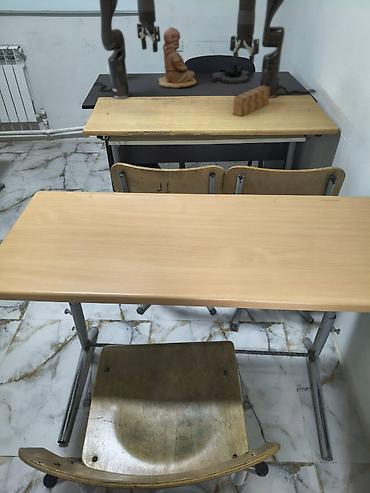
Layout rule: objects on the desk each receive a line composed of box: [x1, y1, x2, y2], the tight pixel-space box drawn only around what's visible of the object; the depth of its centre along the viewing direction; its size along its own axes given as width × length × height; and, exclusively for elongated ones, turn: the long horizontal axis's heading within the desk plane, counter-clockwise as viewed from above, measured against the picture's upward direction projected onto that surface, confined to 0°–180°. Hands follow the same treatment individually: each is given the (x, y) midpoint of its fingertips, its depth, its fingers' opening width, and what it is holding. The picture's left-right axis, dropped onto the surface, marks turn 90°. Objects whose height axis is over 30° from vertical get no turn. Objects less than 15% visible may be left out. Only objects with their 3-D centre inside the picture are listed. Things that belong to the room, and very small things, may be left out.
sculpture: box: [157, 27, 198, 89], centre depth 214 cm, size 27×24×30 cm
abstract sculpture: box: [211, 60, 250, 85], centre depth 224 cm, size 25×9×20 cm
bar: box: [232, 85, 270, 117], centre depth 182 cm, size 24×5×8 cm, turn 136°
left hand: (149, 50), depth 167 cm, fingers open, 8 cm apart
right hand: (243, 63), depth 164 cm, fingers open, 8 cm apart
